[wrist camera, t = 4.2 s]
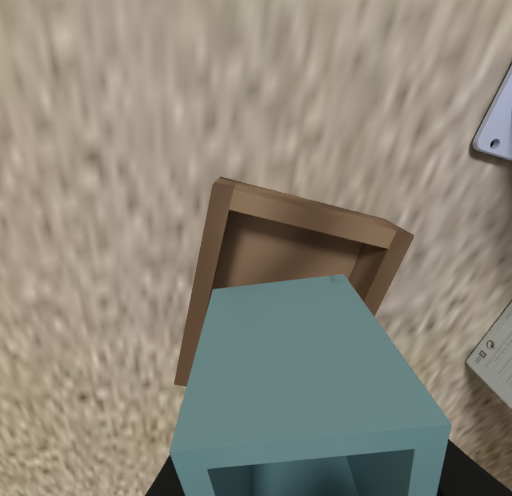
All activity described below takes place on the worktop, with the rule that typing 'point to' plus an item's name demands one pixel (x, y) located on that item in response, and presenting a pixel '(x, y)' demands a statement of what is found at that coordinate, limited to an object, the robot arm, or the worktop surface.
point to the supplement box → (496, 357)
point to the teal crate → (304, 400)
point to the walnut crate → (286, 250)
